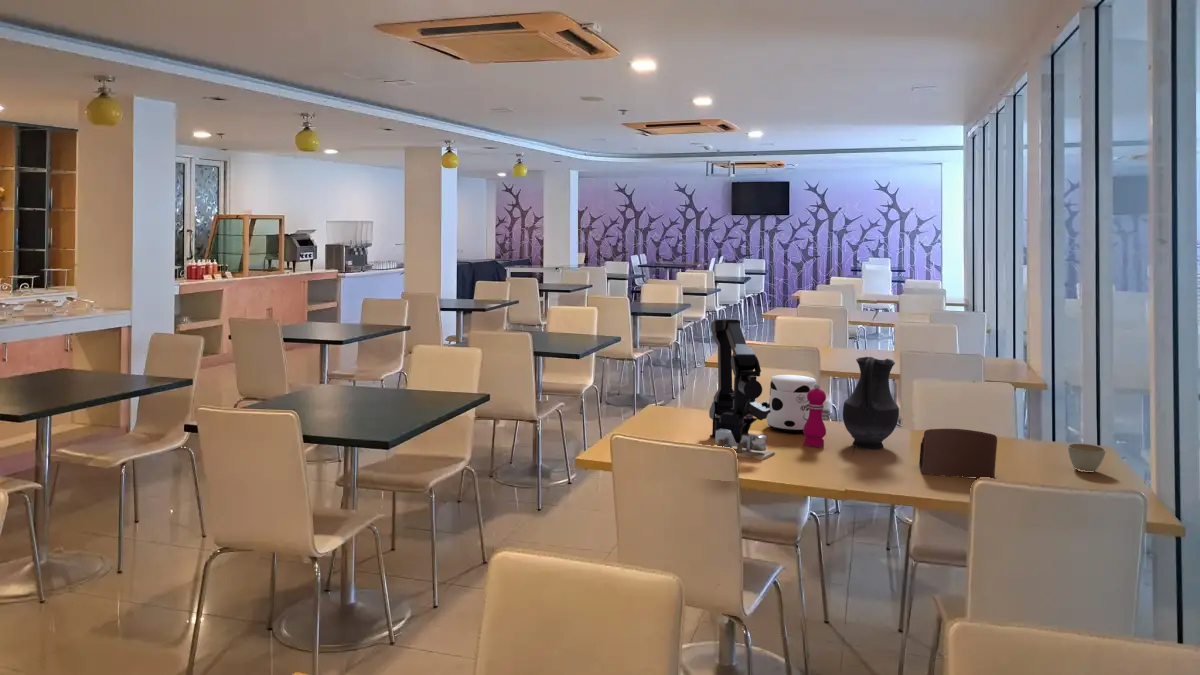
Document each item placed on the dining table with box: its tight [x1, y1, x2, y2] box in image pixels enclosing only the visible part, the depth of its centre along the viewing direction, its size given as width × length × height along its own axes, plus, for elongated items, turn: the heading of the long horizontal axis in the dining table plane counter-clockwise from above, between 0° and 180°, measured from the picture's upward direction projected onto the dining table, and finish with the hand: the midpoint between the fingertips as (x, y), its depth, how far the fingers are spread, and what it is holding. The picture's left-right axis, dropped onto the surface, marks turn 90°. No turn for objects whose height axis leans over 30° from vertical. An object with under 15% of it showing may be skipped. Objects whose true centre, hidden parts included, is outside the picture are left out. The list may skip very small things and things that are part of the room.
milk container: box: [766, 374, 817, 433], centre depth 323 cm, size 17×17×18 cm
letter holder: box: [918, 428, 998, 480], centre depth 272 cm, size 10×20×14 cm, turn 75°
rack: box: [713, 439, 776, 461], centre depth 290 cm, size 19×9×4 cm, turn 55°
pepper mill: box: [803, 383, 827, 448], centre depth 302 cm, size 7×7×20 cm
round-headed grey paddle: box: [714, 429, 767, 451], centre depth 290 cm, size 16×5×4 cm, turn 55°
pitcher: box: [842, 356, 900, 451], centre depth 299 cm, size 17×21×30 cm
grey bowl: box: [1067, 443, 1107, 472], centre depth 278 cm, size 10×10×7 cm
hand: (740, 442), depth 290 cm, fingers open, 3 cm apart
